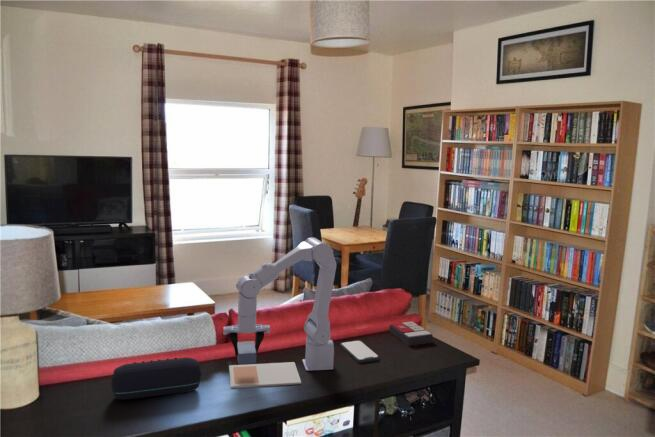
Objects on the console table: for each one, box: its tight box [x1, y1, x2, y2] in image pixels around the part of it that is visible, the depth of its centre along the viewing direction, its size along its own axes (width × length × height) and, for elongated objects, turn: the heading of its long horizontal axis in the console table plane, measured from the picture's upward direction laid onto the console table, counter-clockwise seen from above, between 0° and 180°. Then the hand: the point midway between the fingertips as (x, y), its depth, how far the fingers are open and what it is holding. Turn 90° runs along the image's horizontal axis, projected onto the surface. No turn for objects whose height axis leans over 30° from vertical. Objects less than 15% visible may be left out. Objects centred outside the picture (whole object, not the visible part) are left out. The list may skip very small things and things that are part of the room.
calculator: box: [388, 321, 433, 347], centre depth 206 cm, size 11×4×15 cm
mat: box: [228, 361, 302, 389], centre depth 169 cm, size 22×14×1 cm, turn 103°
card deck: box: [236, 340, 257, 365], centre depth 166 cm, size 9×6×3 cm, turn 14°
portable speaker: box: [110, 357, 202, 400], centre depth 154 cm, size 25×10×10 cm, turn 111°
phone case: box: [340, 340, 380, 364], centre depth 190 cm, size 9×2×16 cm
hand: (246, 354), depth 167 cm, fingers closed on card deck, 5 cm apart
